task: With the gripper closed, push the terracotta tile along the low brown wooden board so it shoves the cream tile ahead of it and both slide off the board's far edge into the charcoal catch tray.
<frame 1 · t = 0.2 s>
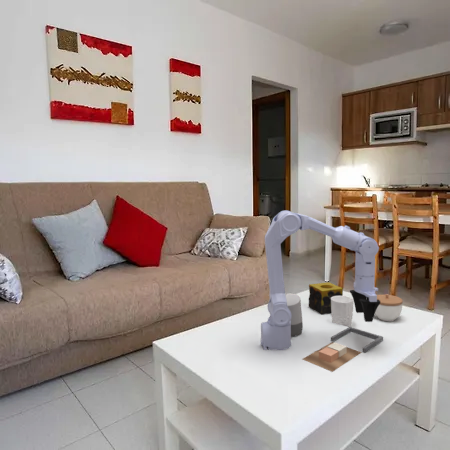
hand: (364, 316, 113), 10 cm above the table, fingers open, 7 cm apart
white cup: (341, 325, 132), on the table
terracotta tile: (328, 357, 105), point 1 cm above the table, touching brown wooden board
catch tray: (356, 345, 116), on the table
brown wooden board: (332, 360, 107), on the table
smart speaker: (288, 336, 125), on the table
cream tile: (337, 352, 108), point 1 cm above the table, touching brown wooden board
lidded jar: (386, 318, 138), on the table
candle: (325, 310, 149), on the table
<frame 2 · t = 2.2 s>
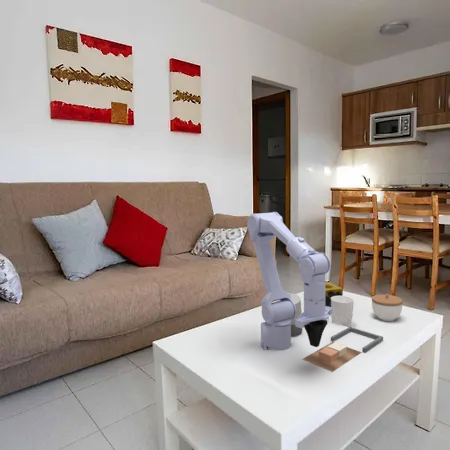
hand: (314, 345, 100), 8 cm above the table, fingers closed
nothing on the table moved.
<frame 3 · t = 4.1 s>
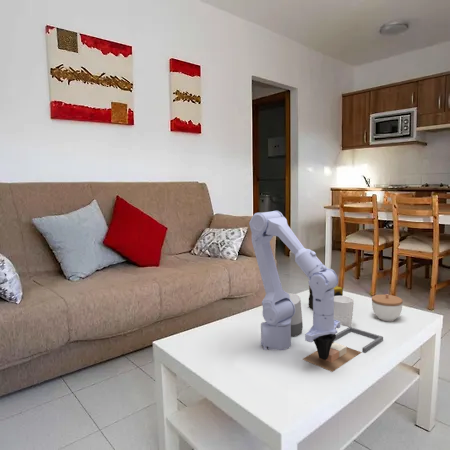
hand: (323, 358, 103), 2 cm above the table, fingers closed
terracotta tile: (329, 357, 105), point 2 cm above the table, touching gripper
everything else where it was.
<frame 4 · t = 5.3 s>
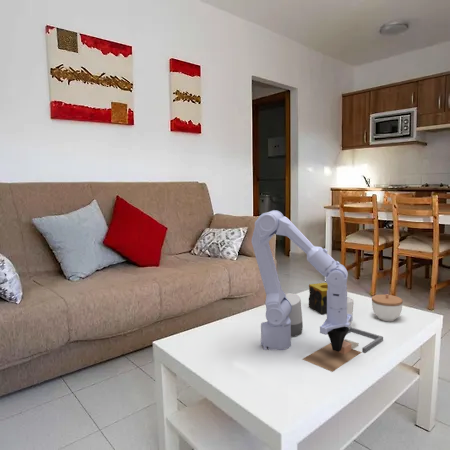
hand: (336, 350, 108), 2 cm above the table, fingers closed
terracotta tile: (341, 349, 110), point 2 cm above the table, touching brown wooden board, cream tile, gripper
cream tile: (348, 347, 112), point 1 cm above the table, tilted 22°, touching terracotta tile
everything else where it was.
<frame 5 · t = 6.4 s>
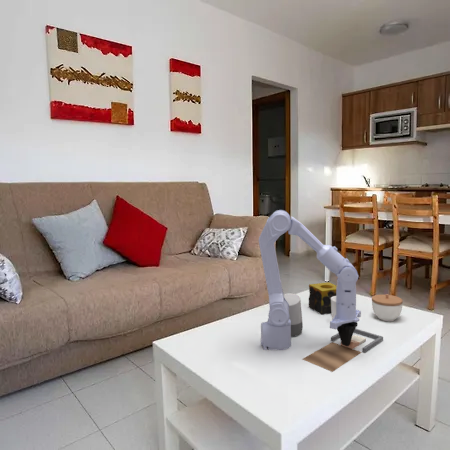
hand: (345, 344, 111), 2 cm above the table, fingers closed
terracotta tile: (349, 346, 113), point 1 cm above the table, tilted 19°, touching cream tile, gripper
cream tile: (356, 344, 116), resting on catch tray, touching terracotta tile
everything else where it was.
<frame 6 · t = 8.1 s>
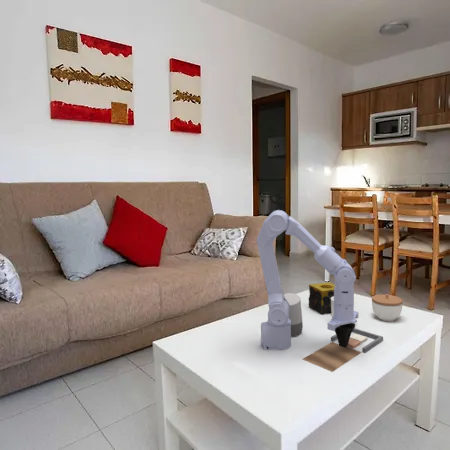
hand: (343, 346, 110), 2 cm above the table, fingers closed
terracotta tile: (351, 347, 113), resting on catch tray
cream tile: (358, 343, 116), resting on catch tray
everything else where it was.
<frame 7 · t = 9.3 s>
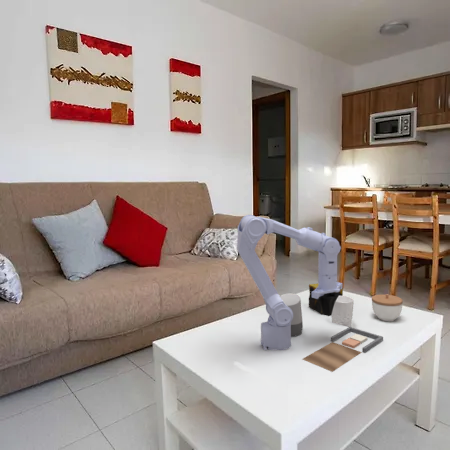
hand: (327, 315, 116), 10 cm above the table, fingers closed
nothing on the table moved.
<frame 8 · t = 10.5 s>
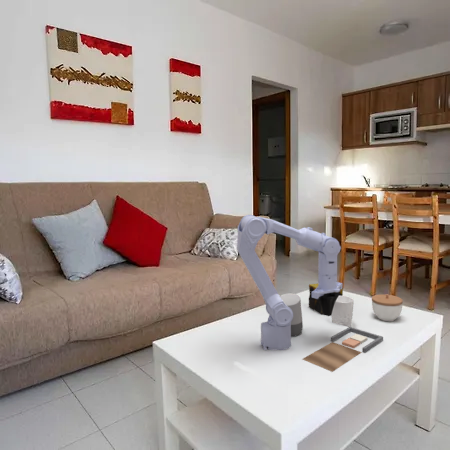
hand: (327, 315, 116), 10 cm above the table, fingers closed
nothing on the table moved.
at the end: terracotta tile inside the target area on the catch tray (3.1 cm from its centre), point 0.3 cm above the catch tray's base; cream tile inside the target area on the catch tray (1.4 cm from its centre), point 0.3 cm above the catch tray's base; terracotta tile touching catch tray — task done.
